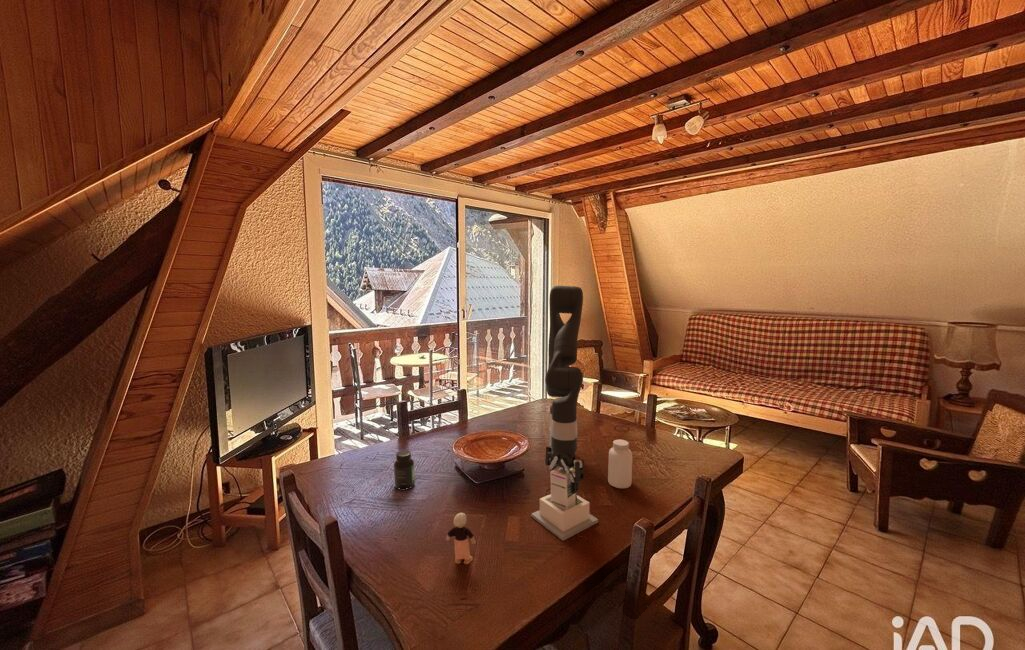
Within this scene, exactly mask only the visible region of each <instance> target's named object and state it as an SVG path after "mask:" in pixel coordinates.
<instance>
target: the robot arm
mask: <svg viewBox="0 0 1025 650" xmlns="http://www.w3.org/2000/svg"><path fill="white" fill-rule="evenodd" d="M548 305H549V336H548V356H547V357H548V364H547V366H548V367H547V371H546V373H545V379H544V380H545V386H546V387H545V388H546V389H545V390H546V393H547V395H548V396H549V397H550V398H551V397H553V398H555V399H553V400H552V404H551V405H550V407H549V418H550V419H549V421H550V422H549V429H548V446H546V447H545V460H544V461H545V463H544V464H545V465H546V466H548V468H549V470H550V472H551V471H552V470H554V469H555V468H557V467H558V466H559V467H562V468H563V469H564V470H565V471H566V473H567V474H568V475H569V476H570V479H571V493H572V494H575V493H577V494H578V492H579V489H580V488H579V485H580V484H579V483H581V482H583V481H585V476H586V475H585V461H584V460H583V459H578V458H577V457H576V453H577V451H578V422H577V421H578V420H577V406H578V398H579V395H580V391H581V389H582V386H583V381H584V374H583V372H582V370H581V368H579V367H577V366H572V365H574V364H575V363H576V362H577V359H578V339H579V338H578V337H579V332H580V331H579V330H580V325H581V322H582V321H581V320H582V314H583V305H584V293H583V290H582V288H581V287H579V286H575V285H574V286H573V285H554V286H552V287H551V289H550V292H549V304H548ZM561 314H568V315H569V314H570V315H571V316H570V317H569V319H567V321H566V322H565V323H564V322H563V320H562V318H561ZM570 468H573V470H569V469H570ZM573 473H574V475H575V477H574V476H573Z"/></svg>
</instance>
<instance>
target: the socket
mask: <svg viewBox="0 0 1025 650" xmlns="http://www.w3.org/2000/svg"><path fill="white" fill-rule="evenodd" d="M530 514H531V515H530V516H531V518H532V519H534V520H535V521H536V522H537V523H539V524H540V525H542V526H543V527H544V528H545V529H547V530H548V531H550V532H551V533H552V534H553V535H555V536H556V537H557V538H558V539H560V540H561V541H563V542H564V541H566V540H568V539H569V538H571V537H573V536H575V535H577V534H579V533H581V532H583V531H584V530H586V529H588V528H590V527H592V526H594V525H596V524H598V523H599V519H598V518H597V517H595V516H594V515H593V514H591V513H590V501H588V500H586V499H584V498H583V497H581V496H580V495H578V494H577V505H576V506H574V507H572V508H570V509H568V510H566V511H564V512H563V511H562V510H561V509H559V508H558V507H556V506H555V505H553V504H552V503H551V493H550V494H547V495H545V496H543V497H541V498H539V509H538V510H537V511H534V512H531V513H530Z"/></svg>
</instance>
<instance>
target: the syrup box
mask: <svg viewBox="0 0 1025 650" xmlns="http://www.w3.org/2000/svg"><path fill="white" fill-rule="evenodd" d="M569 470H573V467H572V468H570V469H569ZM549 473H550V494H551V503H552V504H553V505H555V506H556V507H558V508H559V509H561V510H562V511H563V512H564V511H566V510H568V509H570V508H572V507H574V506H576V505H577V495H578V492H577V493H575V494H572V493H571V479H570V476H569V475H568V474H567V473H566V471H565V470H564V469H563V468H562V467H559V466H558V467H557V468H555V469H554V470H552V471H550V472H549ZM573 476H574V477H575V475H574V473H573Z"/></svg>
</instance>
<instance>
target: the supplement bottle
mask: <svg viewBox="0 0 1025 650" xmlns="http://www.w3.org/2000/svg"><path fill="white" fill-rule="evenodd" d="M395 456H396V460H395V461H394V463H393V475H394V476H393V477H394V487H395V486H396V487H397V488H400V489H406V488H410V487H412V486H413V485H414V484H415V485H416V475H415V461H414V459H413V458H412V454H411V451H410V450H406V449H405V450H400V451H398V452H396V454H395ZM415 485H414V486H415ZM414 486H413V487H414ZM413 487H412V488H413Z"/></svg>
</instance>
